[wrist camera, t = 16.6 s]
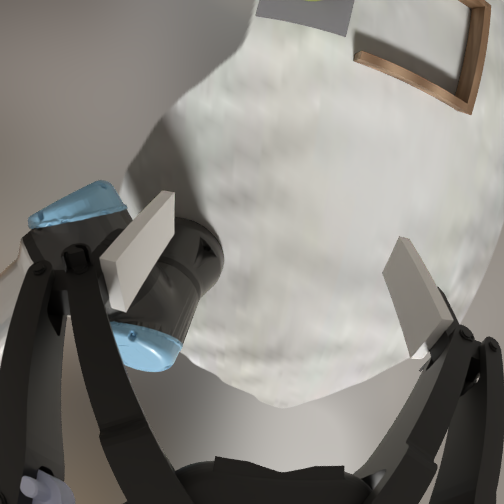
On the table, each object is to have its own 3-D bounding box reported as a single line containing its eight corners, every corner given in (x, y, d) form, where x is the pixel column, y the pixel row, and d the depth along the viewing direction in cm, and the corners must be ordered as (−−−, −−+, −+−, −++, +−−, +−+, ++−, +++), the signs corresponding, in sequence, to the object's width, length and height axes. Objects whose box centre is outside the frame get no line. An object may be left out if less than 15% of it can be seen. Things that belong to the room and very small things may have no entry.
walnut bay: (353, 61, 28) (359, 58, 25) (377, -47, 16) (384, -56, 13) (457, 110, 28) (471, 115, 25) (477, 8, 16) (491, 5, 13)
